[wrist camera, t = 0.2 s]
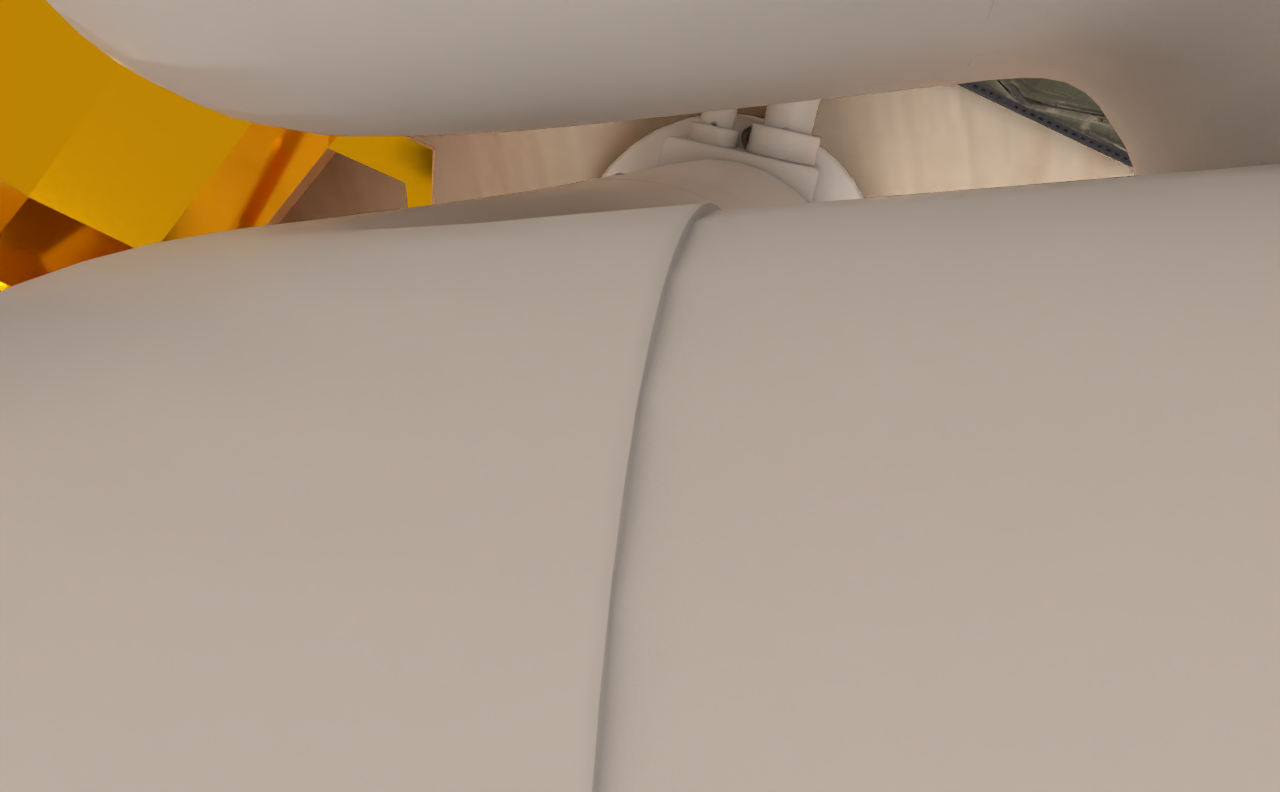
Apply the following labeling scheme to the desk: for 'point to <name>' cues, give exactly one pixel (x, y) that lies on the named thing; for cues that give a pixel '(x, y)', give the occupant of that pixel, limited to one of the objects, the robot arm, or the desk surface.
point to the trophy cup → (141, 155)
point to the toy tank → (1056, 110)
